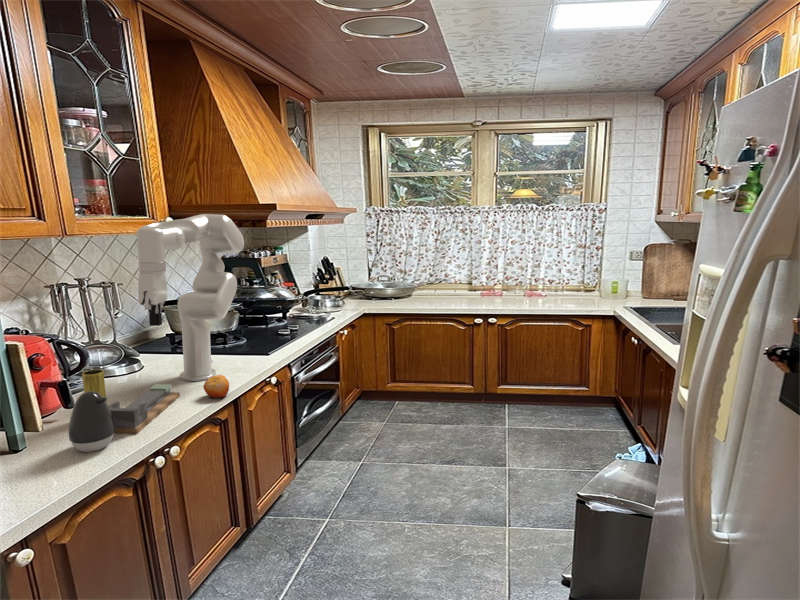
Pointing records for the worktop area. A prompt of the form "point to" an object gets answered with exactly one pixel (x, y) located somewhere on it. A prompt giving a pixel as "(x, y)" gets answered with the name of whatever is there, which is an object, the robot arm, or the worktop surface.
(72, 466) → the worktop surface
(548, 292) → the worktop surface
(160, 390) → the arm
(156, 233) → the robot arm
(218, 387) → the fruit
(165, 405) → the stand
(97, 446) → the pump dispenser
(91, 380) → the vase
